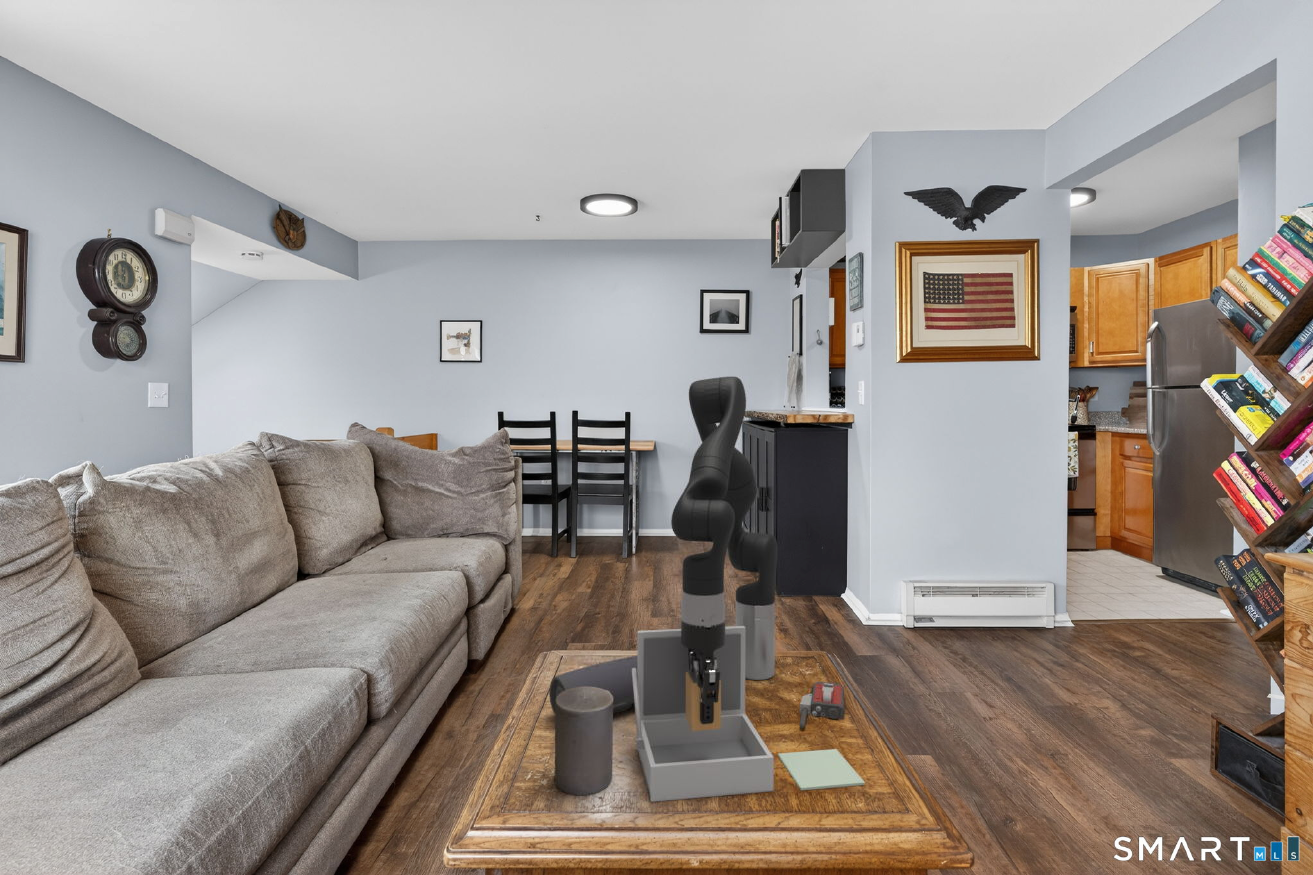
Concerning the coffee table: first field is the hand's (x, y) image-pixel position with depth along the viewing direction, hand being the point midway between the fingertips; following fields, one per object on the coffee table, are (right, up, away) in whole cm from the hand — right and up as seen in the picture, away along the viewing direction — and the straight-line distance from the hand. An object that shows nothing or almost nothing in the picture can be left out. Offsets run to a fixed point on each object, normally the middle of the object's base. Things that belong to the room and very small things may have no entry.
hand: (703, 714), depth 111 cm
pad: (+20, -9, 0) cm, 22 cm away
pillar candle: (-20, -10, -3) cm, 22 cm away
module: (0, -1, 0) cm, 1 cm away
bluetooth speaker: (-18, -9, +23) cm, 30 cm away
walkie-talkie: (+26, -10, +23) cm, 36 cm away
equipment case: (-1, -9, +1) cm, 9 cm away
